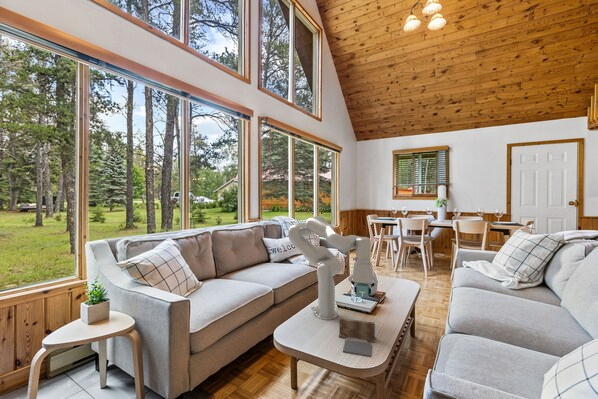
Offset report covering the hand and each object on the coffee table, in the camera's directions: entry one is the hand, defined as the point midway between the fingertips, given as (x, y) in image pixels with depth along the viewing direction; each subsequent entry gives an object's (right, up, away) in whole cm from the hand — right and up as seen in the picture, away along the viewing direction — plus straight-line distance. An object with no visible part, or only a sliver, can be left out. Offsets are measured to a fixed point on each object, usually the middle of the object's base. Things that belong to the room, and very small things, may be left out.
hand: (362, 294), depth 148 cm
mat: (-7, -18, -20) cm, 28 cm away
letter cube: (0, -1, 0) cm, 1 cm away
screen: (-5, -18, -10) cm, 21 cm away
